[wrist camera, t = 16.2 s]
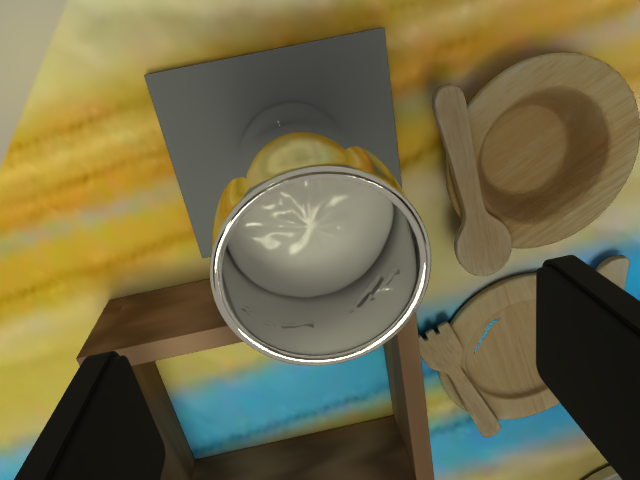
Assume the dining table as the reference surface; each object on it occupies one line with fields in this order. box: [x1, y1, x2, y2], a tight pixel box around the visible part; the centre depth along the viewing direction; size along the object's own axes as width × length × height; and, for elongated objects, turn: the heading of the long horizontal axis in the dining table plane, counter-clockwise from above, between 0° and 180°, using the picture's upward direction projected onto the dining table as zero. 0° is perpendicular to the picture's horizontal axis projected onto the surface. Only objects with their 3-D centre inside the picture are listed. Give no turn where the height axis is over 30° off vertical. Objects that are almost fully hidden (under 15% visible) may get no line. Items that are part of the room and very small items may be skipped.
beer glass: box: [210, 102, 431, 365], centre depth 21 cm, size 7×7×15 cm
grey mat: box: [144, 28, 402, 258], centre depth 28 cm, size 13×11×1 cm
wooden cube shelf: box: [76, 279, 434, 480], centre depth 32 cm, size 18×16×6 cm
